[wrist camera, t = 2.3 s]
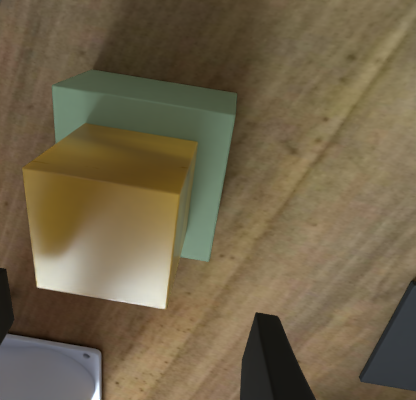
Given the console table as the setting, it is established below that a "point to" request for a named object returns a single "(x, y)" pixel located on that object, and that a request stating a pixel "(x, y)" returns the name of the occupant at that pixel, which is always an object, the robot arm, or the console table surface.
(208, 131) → the base block
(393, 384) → the mat
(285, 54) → the console table surface
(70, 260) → the top cube
